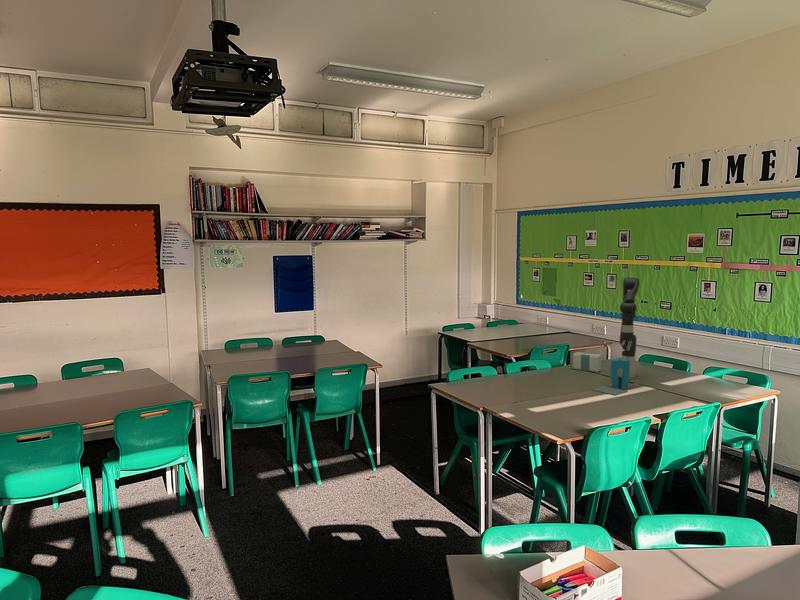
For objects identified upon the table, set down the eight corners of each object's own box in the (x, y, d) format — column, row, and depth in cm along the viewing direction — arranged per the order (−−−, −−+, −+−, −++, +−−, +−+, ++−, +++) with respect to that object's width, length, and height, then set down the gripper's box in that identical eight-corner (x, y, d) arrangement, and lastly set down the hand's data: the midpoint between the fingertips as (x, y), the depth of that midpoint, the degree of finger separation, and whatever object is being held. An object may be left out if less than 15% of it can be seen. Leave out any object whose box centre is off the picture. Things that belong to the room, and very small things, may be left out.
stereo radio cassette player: (572, 369, 446) (572, 345, 444) (576, 367, 452) (576, 343, 450) (598, 373, 433) (598, 347, 431) (601, 371, 439) (602, 346, 437)
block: (628, 387, 388) (629, 359, 386) (629, 389, 384) (629, 361, 382) (610, 386, 392) (610, 358, 390) (610, 388, 387) (611, 360, 385)
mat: (604, 386, 392) (604, 385, 392) (627, 391, 378) (627, 390, 378) (591, 390, 384) (591, 389, 384) (615, 395, 369) (615, 394, 369)
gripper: (628, 329, 396) (627, 353, 398) (617, 331, 388) (616, 355, 390) (637, 330, 390) (637, 355, 391) (627, 332, 382) (626, 357, 384)
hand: (627, 355), depth 391 cm, fingers closed
